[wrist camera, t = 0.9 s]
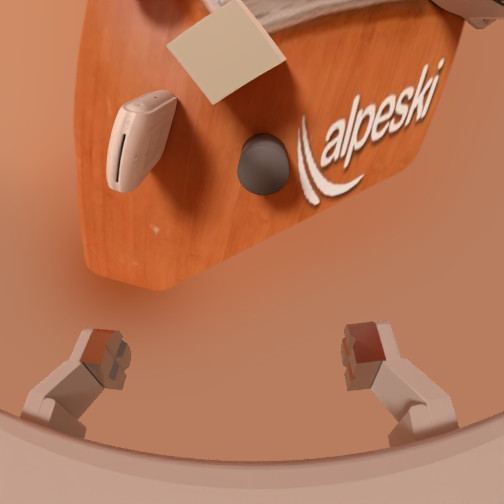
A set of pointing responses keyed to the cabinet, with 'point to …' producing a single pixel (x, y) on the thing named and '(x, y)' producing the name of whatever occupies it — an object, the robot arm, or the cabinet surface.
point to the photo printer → (139, 139)
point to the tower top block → (224, 51)
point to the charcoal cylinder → (263, 165)
